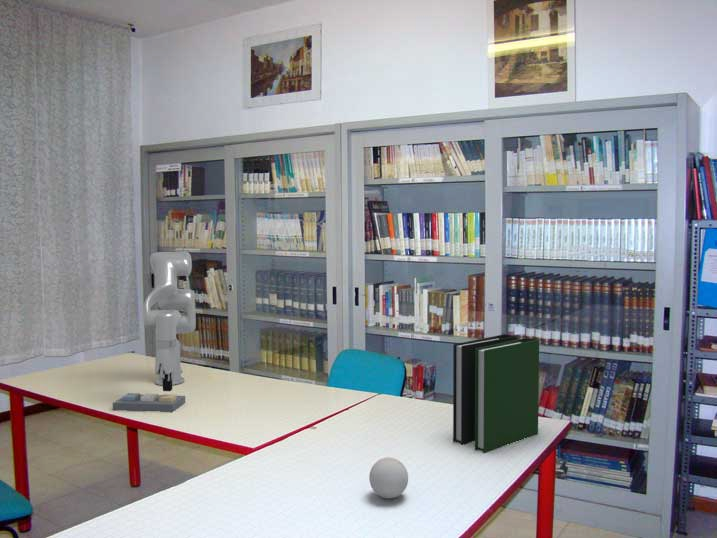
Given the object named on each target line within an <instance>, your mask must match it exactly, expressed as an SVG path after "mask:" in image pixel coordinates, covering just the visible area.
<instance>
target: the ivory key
mask: <svg viewBox="0 0 717 538" xmlns="http://www.w3.org/2000/svg"><path fill="white" fill-rule="evenodd" d="M142 395H143V396H142V397H140V400H141V401H150V402H153V401H155V400H157V399H158V398H159V396H158V395H159V393H145V394H142Z"/></svg>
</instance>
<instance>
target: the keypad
mask: <svg viewBox="0 0 717 538" xmlns="http://www.w3.org/2000/svg"><path fill="white" fill-rule="evenodd" d="M143 395H144V394H140V397H142V396H143ZM162 395H163V394H158V396H159V397H161V396H162ZM184 403H185V404H186V395H177V399H176V400H174V401H173V402H159V398H158V399H157V400H155V401H153V402H150V401H141V400H140V398H139V399H138V400H136V401H122V397H121V398H119V399H117V400H115V401H114V402H112V411H113V410H127V411H126V412H145V411H160V412H159V413H174V412H175V411H177V410H178V409H180V408H181V407H182V406H183V405H185V404H184ZM180 406H181V407H180ZM176 409H177V410H176ZM173 411H174V412H173Z"/></svg>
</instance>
